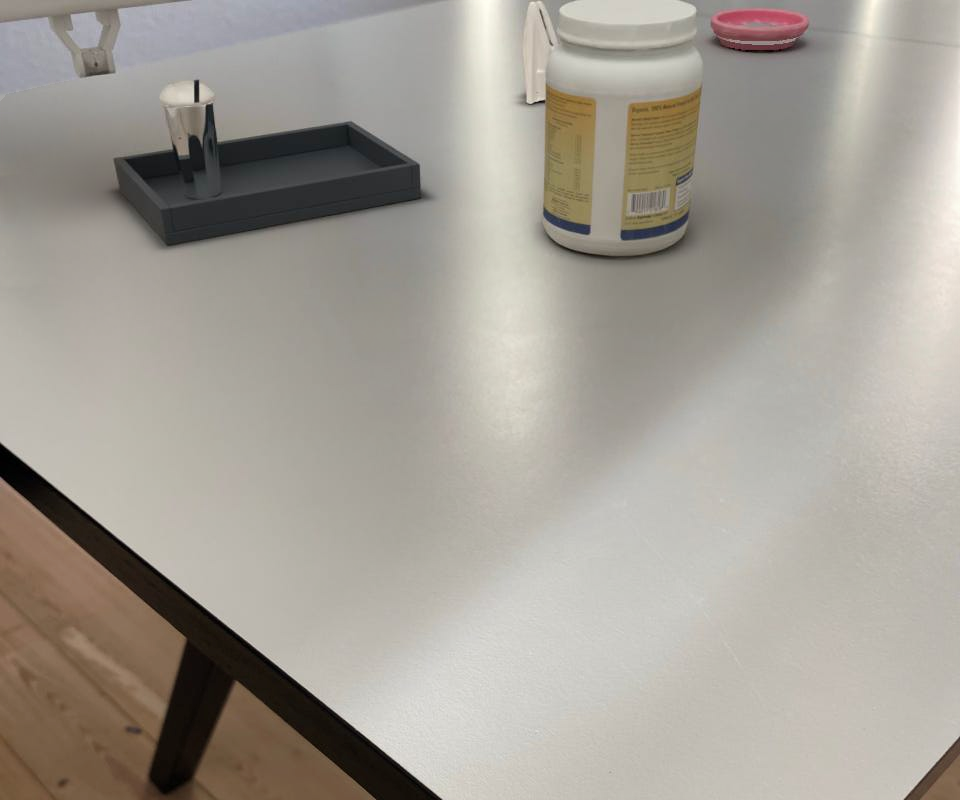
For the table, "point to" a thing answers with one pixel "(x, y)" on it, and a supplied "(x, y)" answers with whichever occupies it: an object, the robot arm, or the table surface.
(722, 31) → the saucer
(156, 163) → the tray
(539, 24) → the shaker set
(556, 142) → the supplement tub
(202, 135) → the milkshake
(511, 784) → the table surface
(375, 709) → the table surface
